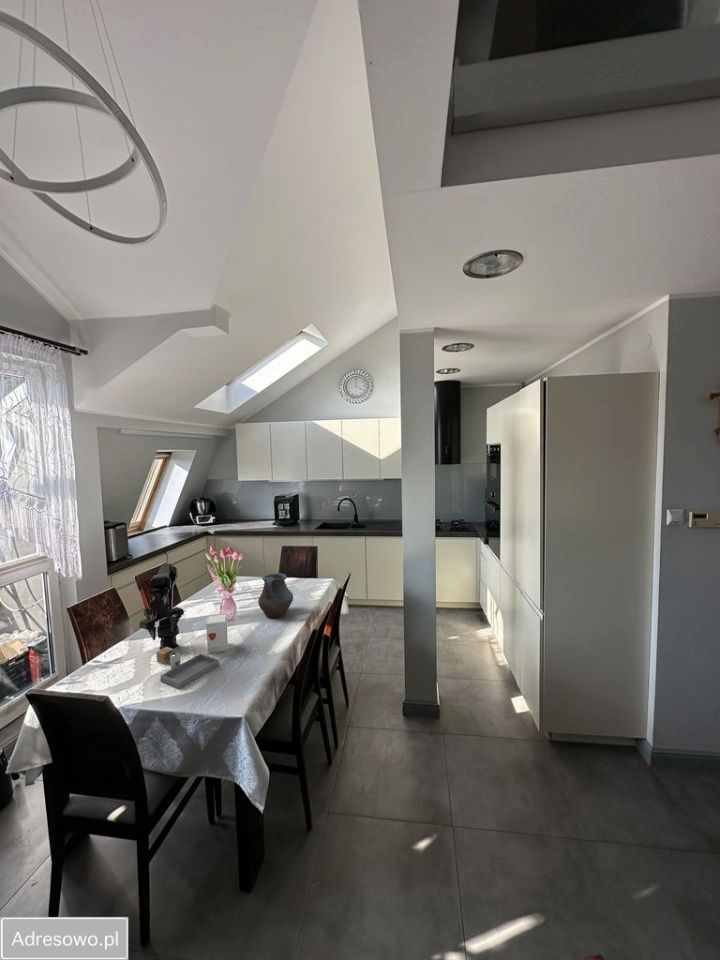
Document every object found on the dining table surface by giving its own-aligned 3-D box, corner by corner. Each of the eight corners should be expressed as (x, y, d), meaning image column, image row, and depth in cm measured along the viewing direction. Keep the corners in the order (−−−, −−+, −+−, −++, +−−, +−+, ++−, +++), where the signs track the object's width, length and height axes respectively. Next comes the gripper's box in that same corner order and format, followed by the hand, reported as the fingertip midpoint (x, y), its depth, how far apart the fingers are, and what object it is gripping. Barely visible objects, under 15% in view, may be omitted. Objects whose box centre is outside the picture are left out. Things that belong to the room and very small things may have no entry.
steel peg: (176, 664, 176) (176, 651, 176) (182, 666, 175) (181, 653, 174) (168, 669, 173) (168, 655, 173) (174, 671, 171) (173, 658, 171)
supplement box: (206, 654, 185) (205, 623, 184) (208, 645, 194) (207, 616, 193) (227, 651, 188) (225, 621, 187) (228, 642, 196) (226, 613, 195)
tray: (200, 659, 181) (200, 653, 180) (218, 665, 175) (218, 659, 175) (160, 681, 163) (160, 675, 163) (179, 689, 157) (179, 682, 157)
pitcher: (297, 608, 238) (296, 568, 237) (287, 623, 217) (286, 580, 215) (265, 608, 240) (263, 568, 239) (252, 623, 219) (250, 579, 217)
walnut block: (166, 657, 184) (166, 646, 183) (173, 659, 181) (173, 649, 181) (157, 662, 179) (156, 651, 179) (164, 664, 177) (163, 654, 177)
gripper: (169, 593, 190) (170, 624, 191) (130, 606, 174) (133, 640, 175) (183, 597, 185) (185, 628, 186) (146, 611, 169) (148, 646, 170)
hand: (163, 635), depth 179 cm, fingers open, 9 cm apart
